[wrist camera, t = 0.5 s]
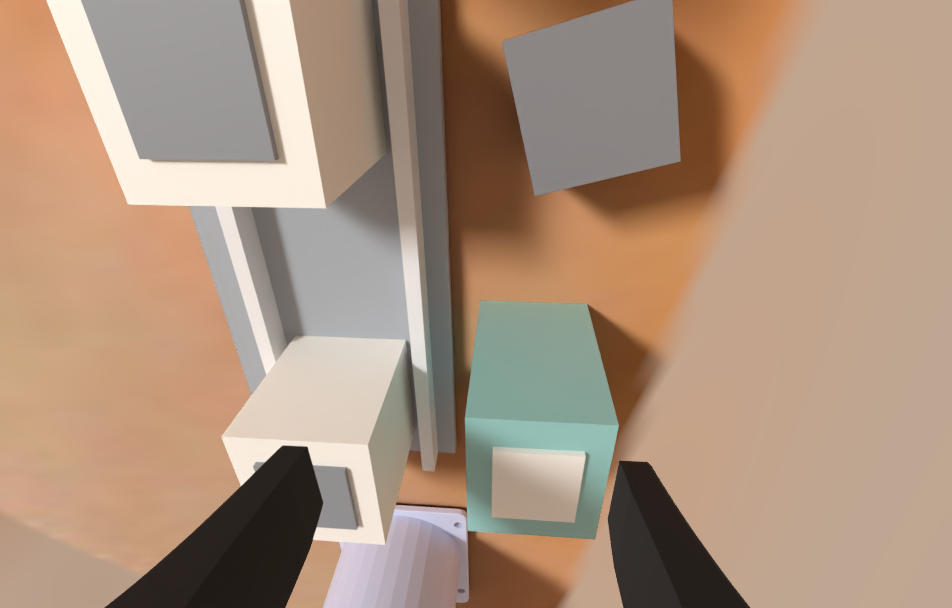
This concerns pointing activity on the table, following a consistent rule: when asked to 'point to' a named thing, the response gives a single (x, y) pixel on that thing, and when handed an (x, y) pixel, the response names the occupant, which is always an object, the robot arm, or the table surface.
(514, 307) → the block
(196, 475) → the table surface
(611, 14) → the dark loose block
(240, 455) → the board
